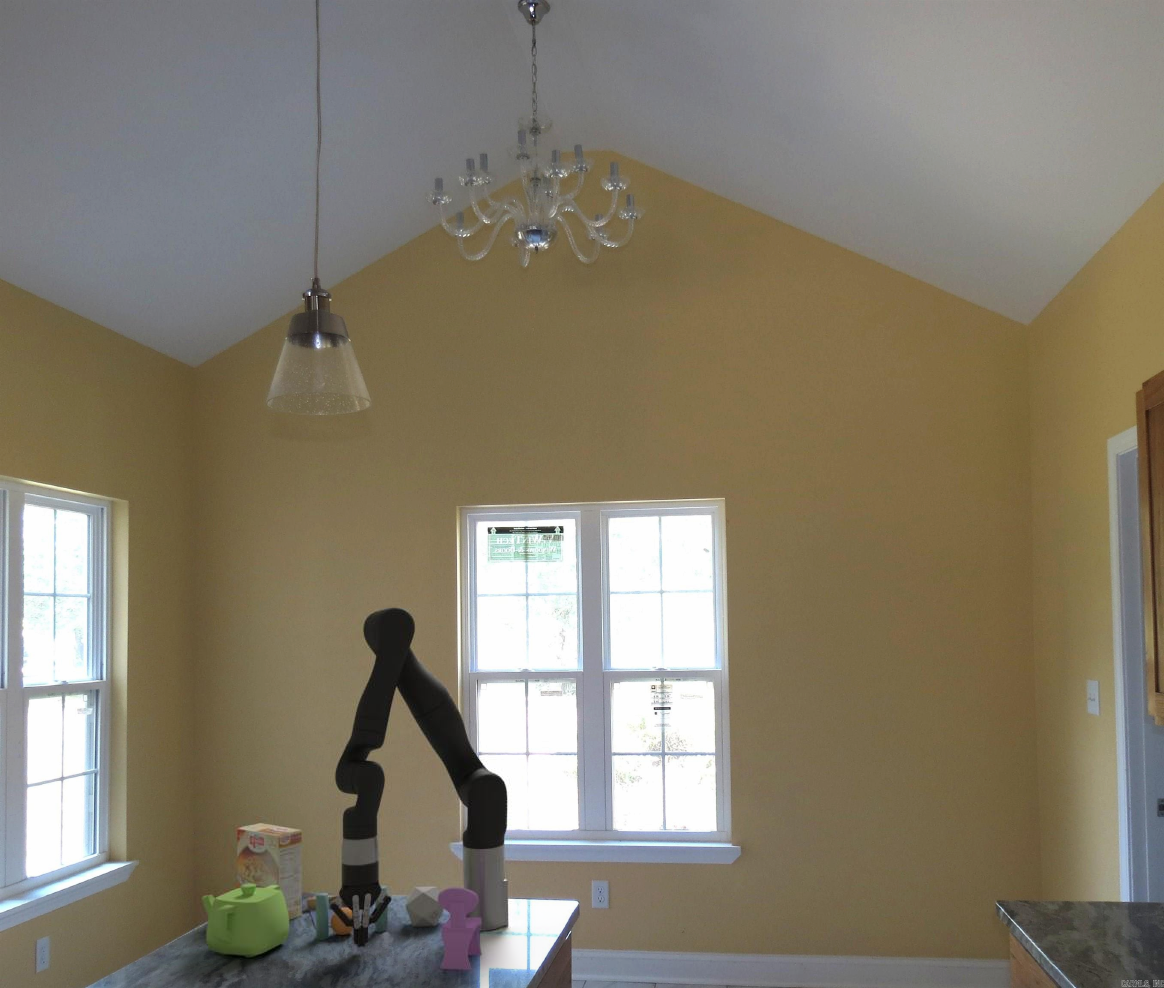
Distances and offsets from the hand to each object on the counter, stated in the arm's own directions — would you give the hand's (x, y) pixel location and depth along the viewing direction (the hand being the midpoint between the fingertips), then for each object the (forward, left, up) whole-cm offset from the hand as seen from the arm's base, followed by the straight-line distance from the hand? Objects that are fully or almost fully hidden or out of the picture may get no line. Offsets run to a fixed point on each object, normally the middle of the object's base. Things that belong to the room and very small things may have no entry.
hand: (360, 945), depth 211 cm
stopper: (0, -35, -2) cm, 35 cm away
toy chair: (-18, +13, -2) cm, 22 cm away
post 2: (-6, -13, -2) cm, 15 cm away
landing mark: (0, -27, -2) cm, 27 cm away
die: (-16, -13, -2) cm, 21 cm away
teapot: (+23, -14, -2) cm, 27 cm away
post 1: (+6, -13, -2) cm, 15 cm away
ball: (+2, -13, +1) cm, 14 cm away
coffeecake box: (+16, -35, -2) cm, 39 cm away
